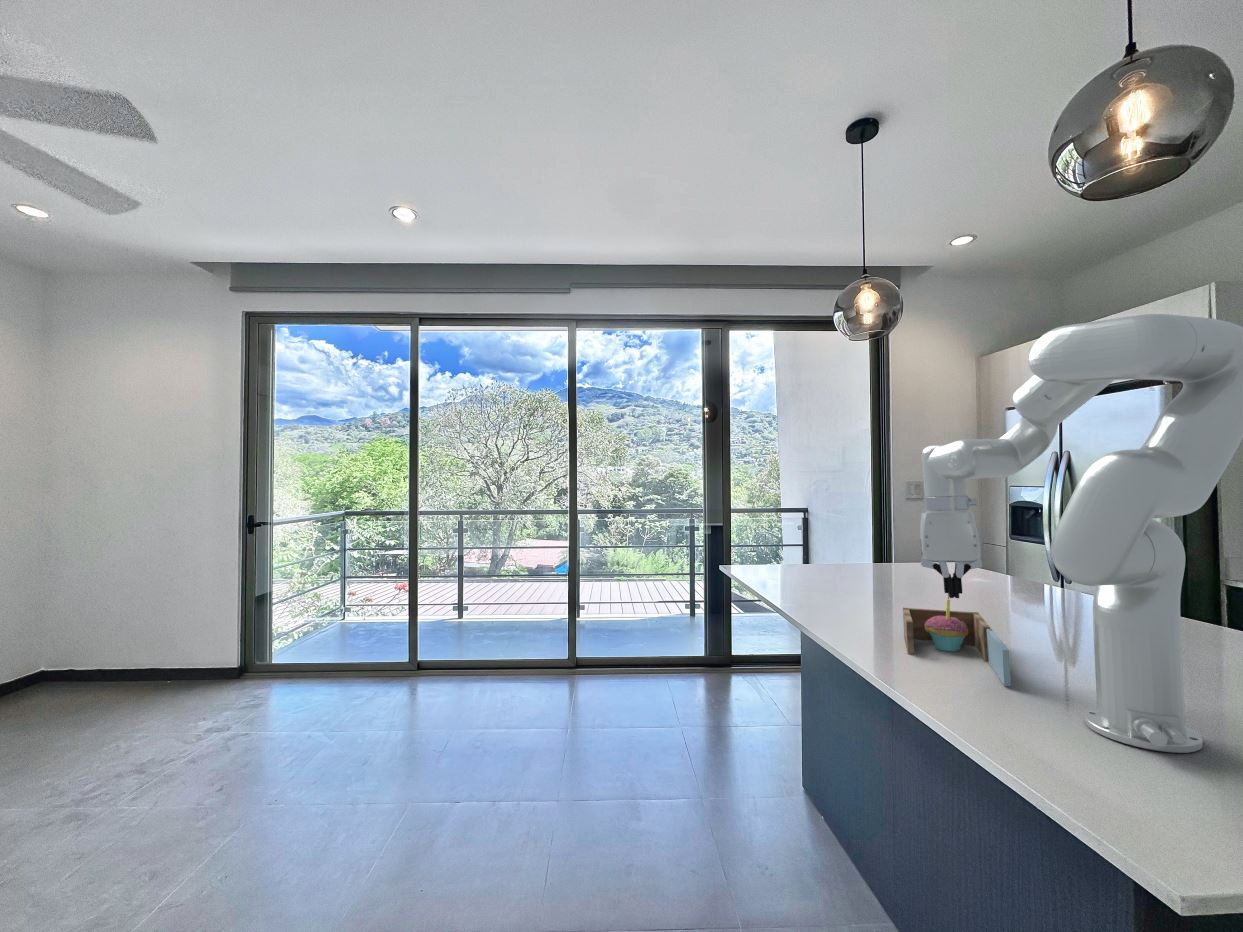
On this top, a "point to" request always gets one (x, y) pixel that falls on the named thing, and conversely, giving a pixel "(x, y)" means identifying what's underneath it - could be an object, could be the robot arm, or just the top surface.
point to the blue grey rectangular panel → (998, 657)
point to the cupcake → (946, 631)
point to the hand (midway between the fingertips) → (953, 597)
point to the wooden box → (918, 617)
